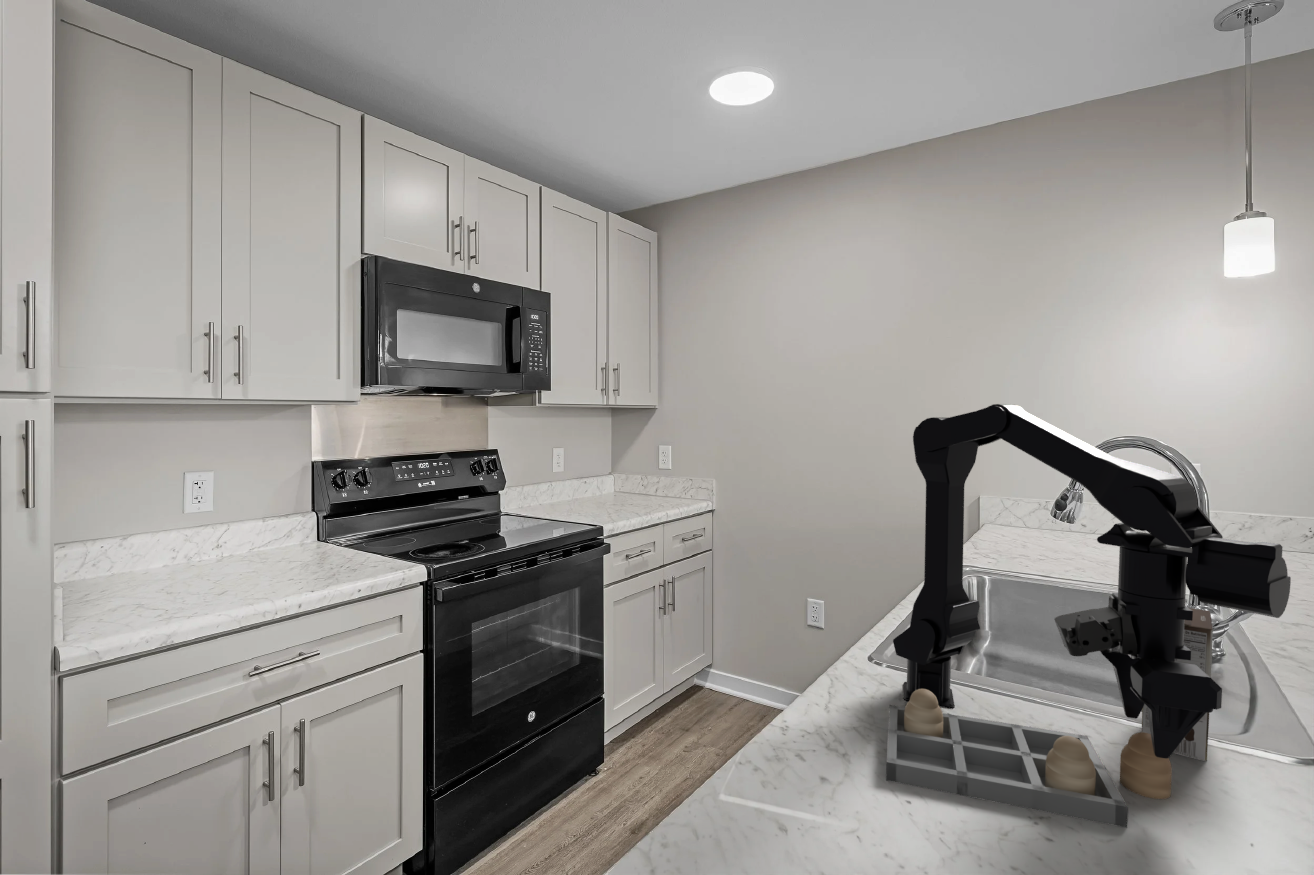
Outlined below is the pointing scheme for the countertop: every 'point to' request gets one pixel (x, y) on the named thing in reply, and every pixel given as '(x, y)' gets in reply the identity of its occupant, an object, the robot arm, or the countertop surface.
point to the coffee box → (1201, 655)
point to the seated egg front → (1070, 767)
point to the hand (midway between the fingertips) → (1145, 735)
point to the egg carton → (996, 766)
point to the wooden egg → (1145, 768)
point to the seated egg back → (923, 714)
